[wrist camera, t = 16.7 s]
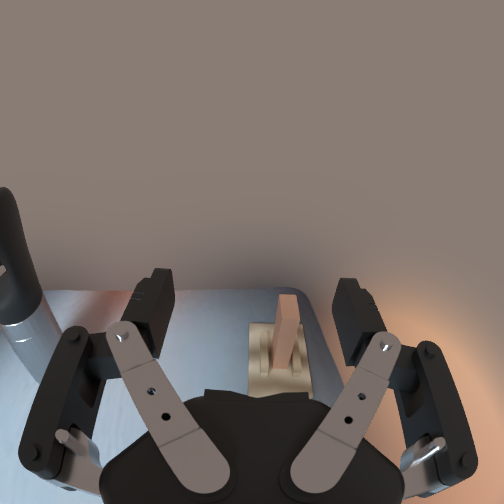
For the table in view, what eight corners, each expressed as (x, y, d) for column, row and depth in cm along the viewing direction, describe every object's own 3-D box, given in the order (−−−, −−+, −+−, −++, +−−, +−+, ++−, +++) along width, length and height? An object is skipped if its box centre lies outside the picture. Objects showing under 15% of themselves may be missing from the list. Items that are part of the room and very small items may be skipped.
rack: (311, 400, 40) (316, 390, 39) (247, 400, 40) (248, 390, 38) (301, 328, 54) (304, 317, 52) (249, 327, 54) (250, 315, 52)
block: (287, 368, 44) (300, 318, 38) (272, 368, 44) (281, 318, 38) (285, 346, 48) (296, 294, 42) (271, 345, 48) (279, 294, 42)
